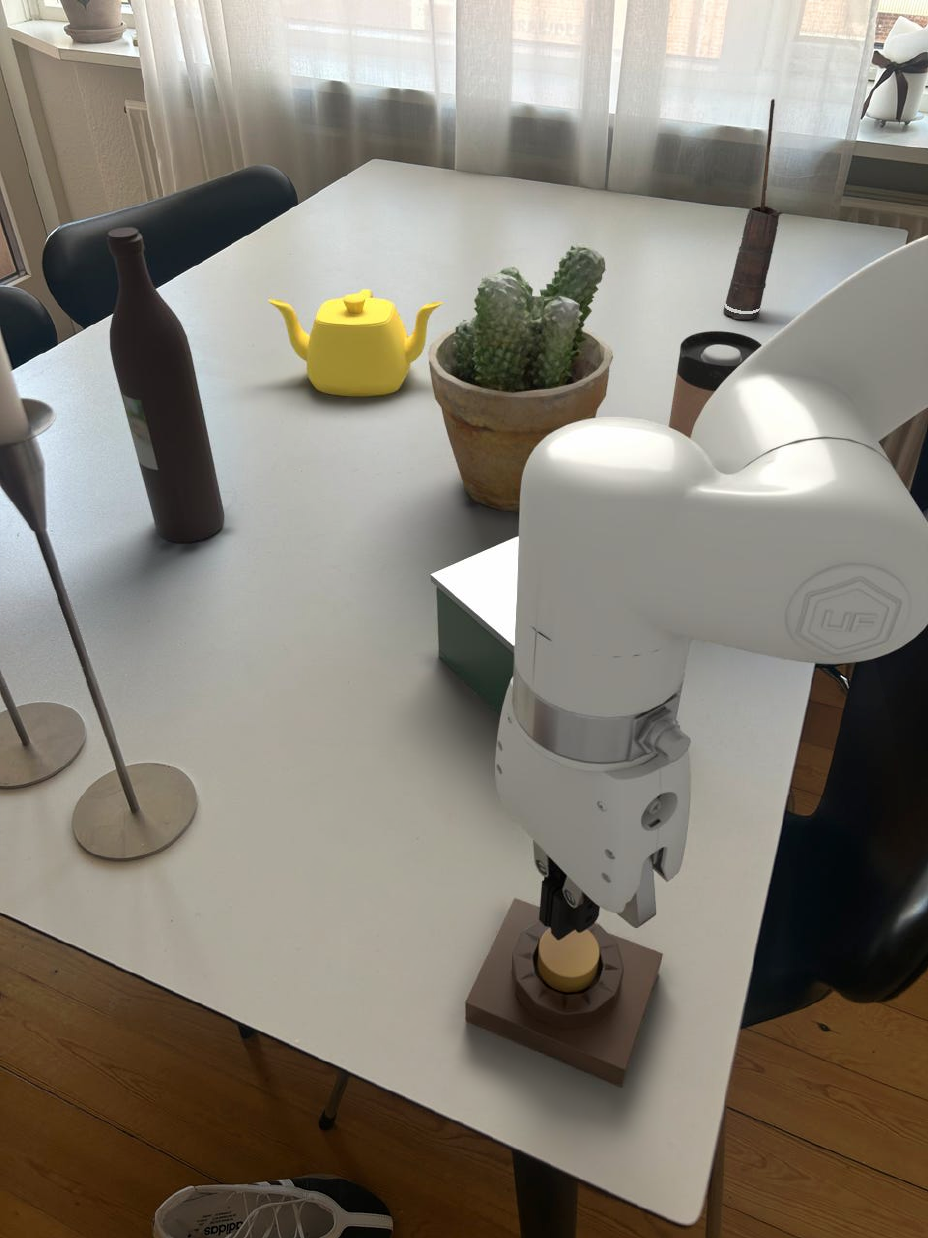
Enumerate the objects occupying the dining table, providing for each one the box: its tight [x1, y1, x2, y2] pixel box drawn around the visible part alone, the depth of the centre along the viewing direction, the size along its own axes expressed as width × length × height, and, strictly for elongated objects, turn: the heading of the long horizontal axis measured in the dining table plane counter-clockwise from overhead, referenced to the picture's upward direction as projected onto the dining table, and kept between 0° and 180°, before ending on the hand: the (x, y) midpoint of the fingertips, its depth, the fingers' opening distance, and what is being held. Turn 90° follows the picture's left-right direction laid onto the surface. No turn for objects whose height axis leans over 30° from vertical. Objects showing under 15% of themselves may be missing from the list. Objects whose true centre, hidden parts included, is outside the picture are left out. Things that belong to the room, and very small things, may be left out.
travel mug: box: [668, 330, 763, 438], centre depth 93 cm, size 8×8×20 cm
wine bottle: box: [106, 226, 225, 544], centre depth 91 cm, size 7×7×30 cm
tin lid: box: [430, 535, 519, 653], centre depth 78 cm, size 14×12×1 cm
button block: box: [464, 897, 664, 1088], centre depth 59 cm, size 10×8×4 cm
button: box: [538, 928, 600, 993], centre depth 58 cm, size 4×4×2 cm
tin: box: [435, 586, 514, 716], centre depth 81 cm, size 14×12×8 cm
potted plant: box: [427, 242, 614, 513], centre depth 98 cm, size 18×19×25 cm
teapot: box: [267, 288, 443, 397], centre depth 125 cm, size 22×16×11 cm
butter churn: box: [723, 98, 784, 321], centre depth 132 cm, size 9×10×28 cm
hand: (568, 917), depth 55 cm, fingers closed
